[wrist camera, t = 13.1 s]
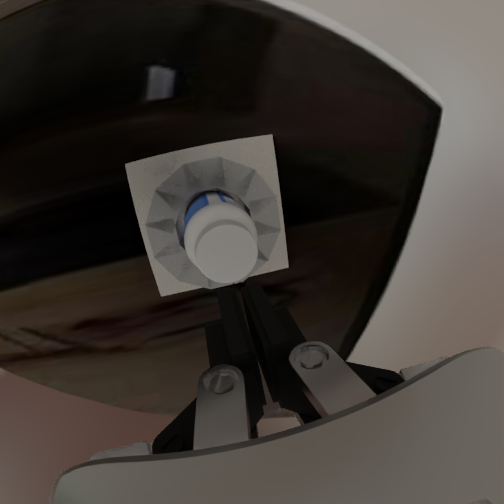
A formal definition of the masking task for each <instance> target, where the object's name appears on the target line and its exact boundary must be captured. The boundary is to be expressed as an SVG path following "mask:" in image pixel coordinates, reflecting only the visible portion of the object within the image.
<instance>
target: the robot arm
mask: <svg viewBox="0 0 504 504" xmlns="http://www.w3.org/2000/svg"><path fill="white" fill-rule="evenodd" d="M245 286H246V287H243V288H241V291H242V296H243V301H244V306H245V311H246V316H247V321H248V326H249V330H248V327H247V324H246V321H245V318H244V315H243V312H242V309H241V307H240V304H239V301H238V298H237V295H236V292H235V289H234V290H230V289H229V287H228V288H223V289H219V290H216V292H217V297H218V302H219V307H220V312H221V316H222V321H219V322H214V323H210V324H205V332H206V340H207V348H208V355H209V362H210V368H209V369H208V370H206V371H205V372H204V373H203V374H202V375H201V377H200V378H199V382H198V391H197V397H196V398H195V399H194V400H193V401H192V402H191V403H190V404H189V405H188V406H187V407H186V408H185V409H184V410H183V411H182V412H181V413H180V414H179V415H178V416H177V417H176V418H175V419H174V420H173V421H172V422H171V423H170V424H169V425H168V426H167V427H166V428H165V429H164V430H163V431H162V432H161V433H160V434H159V435H158V436H157V437H156V438H155V440H154V442H150V443H147V442H146V441H143V442H140V443H136V444H132V445H129V446H125V447H120V448H117V449H112V450H107V451H103V452H99V453H96V454H94V455H93V456H92V457H91V458H90V460H89V461H87V462H84V463H81V464H78V465H75V466H72V467H70V468H68V469H66V470H65V471H63V472H62V473H61V474H60V475H59V476H58V477H57V479H56V480H55V483H54V485H53V487H52V490H51V494H50V498H49V503H48V504H504V352H502V351H501V350H499V349H496V348H493V347H480V348H475V349H472V350H467V351H464V352H462V353H459V354H456V355H454V356H452V357H440V358H438V359H434V360H431V361H428V362H425V363H422V364H418V365H415V366H411V367H408V368H404V369H401V370H400V372H399V373H396V372H394V371H390V370H386V369H381V368H375V367H370V366H365V365H360V364H355V363H351V362H346V361H343V360H342V359H341V358H340V357H339V356H338V355H337V354H336V353H335V352H334V351H333V350H332V349H331V348H330V347H329V346H328V345H326V344H324V343H321V342H315V341H312V342H307V341H306V339H305V338H304V336H303V334H302V333H301V331H300V329H299V328H298V326H297V324H296V323H295V321H294V319H293V318H292V316H291V314H290V313H289V311H288V309H287V308H286V306H280V307H276V308H273V307H272V305H271V304H270V302H269V300H268V298H267V296H266V294H265V292H264V290H263V288H262V286H261V284H260V282H259V281H253V282H249V283H245ZM249 331H250V333H249ZM257 358H258V360H257ZM258 361H259V364H260V367H261V370H262V373H263V375H264V378H265V381H266V384H267V387H268V389H269V392H270V395H271V398H272V400H273V402H278V401H279V404H280V407H281V409H282V408H285V409H288V410H291V411H294V414H295V417H296V418H297V420H298V422H299V423H300V425H301V426H298V427H295V428H292V429H289V430H285V431H282V432H278V433H275V434H271V435H267V436H263V437H259V433H258V426H257V423H258V421H259V420H260V419H261V417H262V416H263V415H264V411H263V407H262V406H263V405H267V404H266V399H265V394H264V390H263V385H262V380H261V375H260V370H259V365H258Z"/></svg>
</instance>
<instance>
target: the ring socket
mask: <svg viewBox="0 0 504 504" xmlns="http://www.w3.org/2000/svg"><path fill="white" fill-rule="evenodd" d="M125 167H126V172H127V177H128V181H129V186H130V190H131V194H132V198H133V203H134V207H135V211H136V215H137V218H138V222H139V226H140V230H141V233H142V237H143V240H144V244H145V247H146V251H147V254H148V257H149V261H150V264H151V267H152V270H153V273H154V276H155V279H156V282H157V285H158V288H159V291H160V294H161V296H166V295H171V294H175V293H180V292H184V291H189V290H193V289H198V288H202V287H204V288H208V289H213V288H218V287H222V286H227V285H231V284H235V283H239V282H243V281H244V280H245V279H247V278H248V277H251V276H255V275H259V274H263V273H267V272H272V271H276V270H280V269H284V268H288V267H289V266H288V256H287V247H286V237H285V229H284V220H283V211H282V203H281V195H280V187H279V180H278V172H277V165H276V157H275V150H274V143H273V136H272V135H264V136H256V137H249V138H242V139H236V140H230V141H224V142H218V143H213V144H207V145H202V146H197V147H192V148H187V149H183V150H178V151H174V152H169V153H165V154H161V155H157V156H153V157H149V158H145V159H142V160H138V161H134V162H131V163H127V164H125ZM208 191H219V192H223V193H225V194H228V195H229V196H231V197H232V198H233V199H234V200H235V201H236V202H237V203H238V204H239V205H240V206H241V207H242V208H243V209H244V210H245V211H246V212H247V214H248V215H249V216H250V217H251V219H252V220H253V222H254V224H255V227H256V230H257V248H258V257H257V261H256V264H255V266H254V267H253V269H252V270H251V272H250V273H249V274H248V275H247V276H245V277H244V278H242V279H240V280H238V281H235V282H232V283H219V282H215V281H213V280H211V279H209V278H207V277H206V276H205V275H204V274H203V273H202V272H201V271H200V269H199V268H198V267H196V266H195V265H194V264H193V263H192V261H191V260H190V259H189V257H188V255H187V253H186V250H185V245H184V218H185V213H186V210H187V207H188V205H189V204H190V202H191V201H192V200H193V199H194V198H195V197H197V196H198V195H200V194H202V193H204V192H208Z"/></svg>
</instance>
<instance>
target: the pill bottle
mask: <svg viewBox="0 0 504 504" xmlns="http://www.w3.org/2000/svg"><path fill="white" fill-rule="evenodd" d="M184 245H185V250H186V253H187V255H188V257H189V259H190V260H191V261H192V263H193V264H194V265H195V266H196V267H198V268H199V269H200V271H201V272H202V273H203V274H204V275H205V276H206V277H207V278H209V279H211V280H213V281H215V282H219V283H232V282H235V281H238V280H240V279H242V278H244V277H245V276H247V275H248V274H249V273H250V272H251V270H252V269H253V267H254V266H255V264H256V261H257V257H258V248H257V230H256V227H255V224H254V222H253V220H252V219H251V217H250V216H249V215H248V214H247V212H246V211H245V210H244V209H243V208H242V207H241V206H240V205H239V204H238V203H237V202H236V201H235V200H234V199H233V198H232V197H231V196H229V195H228V194H225V193H223V192H219V191H208V192H204V193H202V194H200V195H198V196H197V197H195V198H194V199H193V200H192V201H191V202H190V204H189V205H188V207H187V210H186V213H185V218H184Z"/></svg>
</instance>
